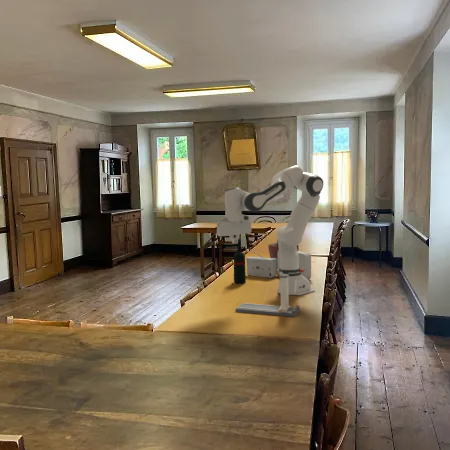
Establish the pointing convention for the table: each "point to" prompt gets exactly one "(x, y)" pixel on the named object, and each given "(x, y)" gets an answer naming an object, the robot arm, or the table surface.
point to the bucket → (275, 250)
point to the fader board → (267, 309)
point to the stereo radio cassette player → (261, 266)
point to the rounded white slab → (300, 263)
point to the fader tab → (284, 292)
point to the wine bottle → (239, 265)
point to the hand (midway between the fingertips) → (234, 243)
